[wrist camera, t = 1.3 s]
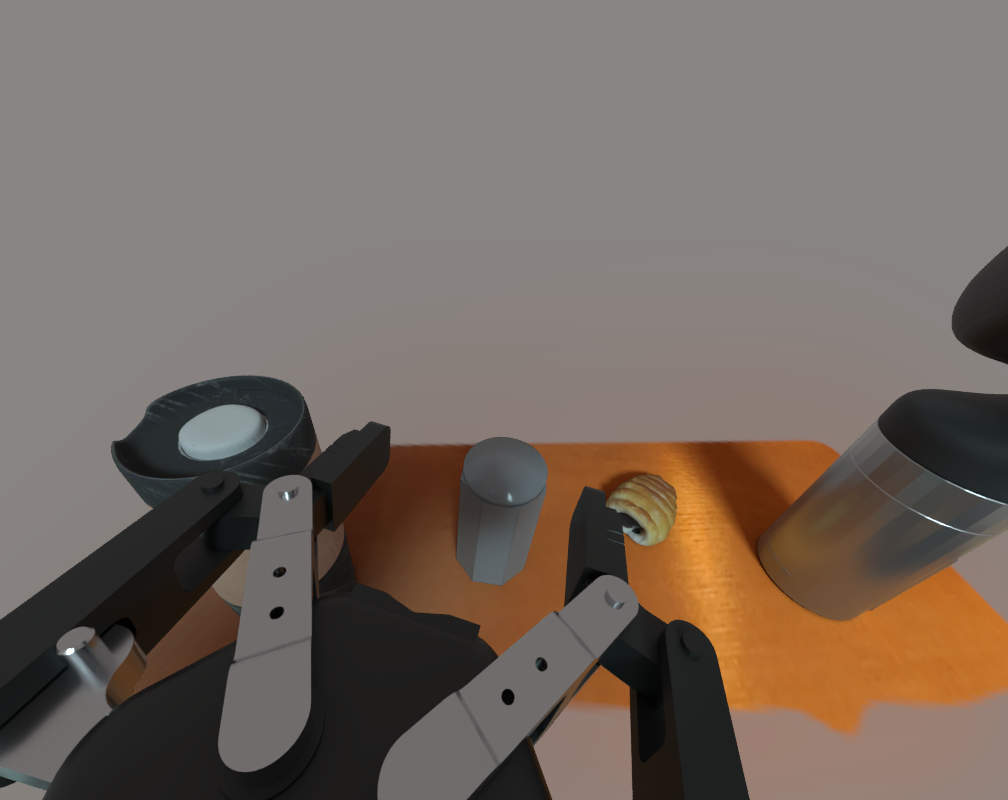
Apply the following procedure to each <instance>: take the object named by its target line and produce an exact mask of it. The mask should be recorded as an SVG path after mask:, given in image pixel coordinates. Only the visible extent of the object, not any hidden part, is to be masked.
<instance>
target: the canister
mask: <svg viewBox="0 0 1008 800" xmlns="http://www.w3.org/2000/svg"><path fill="white" fill-rule="evenodd" d="M547 474H548V472H547V466H546V463H545V460H544V459H543V457H542V456H541V454H540V453H539V452H538V451H537V450H536V449H535V448H533V447H532V446H530V445H529V444H527V443H525V442H523V441H520V440H517V439H513V438H508V437H495V438H490V439H486V440H483V441H481V442H479V443H477V444H476V445H474V446H473V447H472V448H471V449H470V450H469V452H468V453H467V455H466V457H465V460H464V467H463V471H462V475H461V482H460V499H459V517H458V535H457V552H456V558H457V560H458V561H459V563H460V564H461V565H462V567H463V568H464V570H465V571H466V573H467V574H468V575H469V577H470V578H471V580H472V581H476V582H482V583H488V584H494V585H500V586H501V585H503V584H504V583H506V582H507V581H508V580H510V579H511V578H512V577H513V576H515V575H516V574H517V573H519V572H520V571H521V570H522V569H524V565H525V562H526V559H527V555H528V552H529V548H530V545H531V541H532V538H533V535H534V531H535V528H536V524H537V521H538V517H539V514H540V511H541V507H542V504H543V500H544V497H545V493H546V480H547Z"/></svg>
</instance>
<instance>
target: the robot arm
mask: <svg viewBox="0 0 1008 800" xmlns="http://www.w3.org/2000/svg"><path fill="white" fill-rule="evenodd" d="M952 330H953V332H954V335H955V337H956V338H957V339H958V340H959V341H960V342H961V343H962V344H963V345H965V346H966V347H967V348H969V349H971V350H973V351H975V352H977V353H979V354H981V355H983V356H985V357H988V358H991V359H994V360H997V361H1000V362H1003V363H1006V364H1008V247H1006V248H1005V249H1004V250H1003V251H1001V252H1000V253H999V254H998V255H997V256H996V257H995V258H993V260H991V262H989V263H988V264H987V265H986V266H985V267H984V268H983V269H982V270H981V271H980V272H979V273H978V274H977V275H976V276H975V277H974V278H973V279H972V281H971V282H970V283H969V284H968V286H967V287H966V289H965V290H964V291H963V293H962V294H961V296H960V298H959V300H958V302H957V304H956V306H955V307H954V311H953V315H952ZM390 433H391V432H390V427H389V426H385V425H382V424H379V423H376V422H369V423H368V424H367V425H366V426H365V427H364V428H363V429H362V430H360V431H358V430H353V431H350V432H348V433H346V434H343V435H342V436H341V437H340V438H338V439H337V440H336V441H335V442H334V443H333V445H330V446H329V447H328V448H327V449H326V451H324V452H323V453H321V454H320V455H319V456H318V457H317V458H316V459H315V460H314V461H312V462H311V463H310V464H309V465H308V466H307V467H306V468H305V469H303V470H302V471H301V472H300V473H299V474H298V475H288V476H283V477H280V478H278V479H276V480H274V481H272V482H271V483H269V484H268V485H248V484H241V482H240V478H239V476H238V475H237V474H235V473H234V472H231V471H213V472H209V473H206V474H203V475H201V476H199V477H197V478H195V479H194V480H192V481H191V482H189V483H188V484H187V485H185V486H184V487H182V488H181V489H180V490H178V491H177V492H176V493H174V494H173V495H171V496H170V497H169V498H167V499H166V500H165V501H163V502H162V503H160V504H159V505H158V506H156V507H155V508H154V509H152V510H151V511H150V512H148V513H147V514H145V515H144V516H143V517H141V518H140V519H138V520H137V521H136V522H134V523H133V524H132V525H130V526H129V527H127V528H126V529H125V530H123V531H122V532H121V533H119V534H118V535H116V536H115V537H114V538H112V539H111V540H110V541H108V542H107V543H105V544H104V545H103V546H101V547H100V548H99V549H97V550H96V551H95V552H93V553H92V554H90V555H89V556H88V557H86V558H85V559H84V560H82V561H81V562H79V563H78V564H77V565H75V566H74V567H72V568H71V569H70V570H68V571H67V572H66V573H64V574H63V575H61V576H60V577H59V578H57V579H56V580H55V581H53V582H52V583H50V584H49V585H48V586H46V587H45V588H44V589H42V590H41V591H40V592H38V593H37V594H35V595H34V596H33V597H32V598H30V599H28V600H27V601H26V602H24V603H23V604H22V605H20V606H19V607H18V608H16V609H15V610H13V611H12V612H11V613H9V614H8V615H6V616H5V617H4V618H2V619H1V620H0V788H2V787H5V786H8V785H10V784H13V783H15V782H20V783H24V784H27V785H30V786H33V787H36V788H39V789H43V790H46V791H47V792H46V794H45V796H44V797H43V799H42V800H552V798H551V795H550V792H549V789H548V787H547V784H546V781H545V778H544V775H543V773H542V770H541V767H540V764H539V761H538V758H537V756H536V753H535V750H534V747H533V746H534V745H535V744H536V743H537V742H538V740H539V739H540V738H541V737H542V736H543V735H544V733H545V732H546V731H547V730H548V729H549V728H550V726H551V725H552V724H553V723H554V721H555V720H556V719H557V718H558V716H559V715H560V714H561V712H562V711H563V710H564V709H565V707H566V706H567V705H568V704H569V702H570V701H571V700H572V699H573V698H574V697H575V695H576V694H577V693H578V692H579V691H580V690H581V688H582V687H583V686H584V685H585V684H586V683H587V681H588V680H589V679H590V678H591V677H592V676H593V675H594V673H595V672H596V671H597V670H598V669H599V668H600V666H601V665H602V666H603V667H604V668H606V669H607V670H608V671H610V672H611V673H612V674H614V675H615V676H616V677H618V678H619V679H620V680H622V681H623V682H624V683H626V684H627V685H628V686H630V715H631V716H630V718H631V754H632V790H633V800H750V799H749V795H748V790H747V786H746V782H745V777H744V773H743V768H742V764H741V760H740V755H739V751H738V747H737V742H736V738H735V734H734V729H733V725H732V720H731V716H730V712H729V707H728V703H727V699H726V694H725V690H724V685H723V681H722V677H721V672H720V668H719V664H718V659H717V655H716V652H715V649H714V647H713V645H712V644H711V642H710V641H709V639H708V638H707V637H706V635H705V634H704V633H703V632H702V631H701V630H700V629H698V628H697V627H696V626H694V625H692V624H691V623H689V622H686V621H683V620H674V621H671V622H670V623H669V624H666V623H665V622H663V621H662V620H660V619H659V618H657V617H656V616H654V615H653V614H651V613H650V612H648V611H647V610H645V609H644V608H643V607H642V606H641V605H640V604H639V603H638V600H637V597H636V595H635V593H634V591H633V590H632V589H631V587H630V586H629V584H628V575H627V565H626V555H625V546H624V536H623V524H622V520H621V518H620V516H619V515H618V513H617V511H616V509H613V508H610V507H607V506H606V495H605V492H604V491H601V490H597V489H594V488H591V487H587V486H585V487H584V489H583V491H582V494H581V496H580V499H579V501H578V503H577V506H576V508H575V511H574V513H573V516H572V520H571V524H570V531H569V546H568V560H567V574H566V588H565V603H564V608H563V609H562V610H561V611H559V612H558V613H557V612H556V611H553V612H551V613H550V614H548V615H547V616H546V617H545V618H544V619H542V620H541V621H540V622H539V623H538V624H537V625H535V626H534V627H533V628H532V629H531V630H530V631H529V632H527V633H526V634H525V635H524V636H523V637H522V638H520V639H519V640H518V641H517V642H516V643H515V644H513V645H512V646H511V647H510V648H509V649H508V650H507V651H505V652H504V653H503V654H502V655H501V656H500V657H498V656H497V654H496V653H495V651H494V650H493V649H492V648H491V647H490V646H489V645H488V644H487V643H486V642H485V641H484V640H483V639H481V638H480V637H479V636H478V633H479V629H480V625H477V624H475V623H472V622H469V621H466V620H463V619H460V618H457V617H454V616H452V615H446V614H430V613H416V612H413V611H411V610H409V609H408V608H407V607H405V606H404V605H403V604H401V603H400V602H398V601H397V600H396V599H394V598H393V597H391V596H390V595H389V594H387V593H385V592H382V591H379V590H377V589H374V588H371V587H368V586H365V585H362V584H359V583H356V585H355V586H354V588H353V589H352V591H351V592H344V593H335V594H329V595H326V596H322V597H319V578H318V539H317V536H318V535H319V533H320V532H321V531H322V530H323V529H327V530H330V531H333V532H335V531H336V530H337V528H338V527H339V526H340V525H341V523H342V522H343V521H344V520H345V518H346V517H347V516H348V515H349V513H350V512H351V511H352V510H353V508H354V507H355V506H356V505H357V503H358V502H359V501H360V500H361V499H362V497H363V496H364V495H365V494H366V492H367V491H368V490H369V489H370V487H371V486H372V485H373V484H374V482H375V481H376V480H377V479H378V477H379V476H380V475H381V474H382V473H383V471H384V470H385V468H386V466H387V464H388V461H389V456H390ZM1007 529H1008V394H981V393H971V392H961V391H950V390H940V389H922V390H916V391H912V392H909V393H907V394H905V395H903V396H901V397H900V398H898V399H897V400H896V401H895V402H894V403H893V404H892V405H891V406H890V407H889V408H888V409H887V410H886V411H885V412H884V413H883V414H882V415H881V416H880V417H879V418H878V419H877V420H876V421H875V422H874V423H873V424H872V425H871V426H870V427H869V428H868V429H867V430H866V431H865V432H864V433H863V434H862V435H861V436H860V437H859V438H858V439H857V440H856V441H855V442H854V443H853V444H852V445H851V446H850V447H849V448H848V449H847V450H846V451H845V452H844V453H843V454H842V455H841V456H840V457H839V458H838V459H837V460H836V461H835V462H834V463H833V464H832V465H831V466H830V467H829V468H828V469H827V470H826V471H825V472H824V473H823V474H822V475H821V476H820V477H819V478H818V479H817V480H816V481H815V482H814V483H813V484H812V485H811V486H810V487H809V488H808V489H807V490H806V491H805V492H804V493H803V494H802V495H801V496H800V497H799V498H798V499H797V500H796V501H795V502H794V503H793V504H792V505H791V506H790V507H789V508H788V509H787V510H786V511H785V512H784V513H783V514H782V515H781V516H780V517H779V518H778V519H777V520H776V521H775V522H774V523H773V524H772V525H771V526H770V527H769V528H768V529H767V530H766V531H765V532H764V533H763V534H762V535H761V536H760V538H759V540H758V544H757V550H758V556H759V558H760V561H761V563H762V565H763V567H764V569H765V570H766V572H767V573H768V575H769V576H770V577H771V579H772V580H773V581H774V582H775V584H776V585H777V586H778V587H779V588H780V589H781V590H782V591H783V592H784V593H785V594H787V595H788V596H789V597H790V598H792V599H793V600H794V601H795V602H797V603H798V604H800V605H801V606H803V607H804V608H806V609H808V610H810V611H812V612H814V613H816V614H818V615H820V616H823V617H826V618H829V619H833V620H840V621H843V620H851V619H853V618H855V617H857V616H858V615H860V614H862V613H864V612H865V611H867V610H873V609H875V608H877V607H878V606H880V605H882V604H884V603H885V602H887V601H889V600H891V599H892V598H894V597H896V596H898V595H899V594H901V593H903V592H905V591H906V590H908V589H910V588H912V587H913V586H915V585H917V584H919V583H920V582H922V581H924V580H926V579H927V578H929V577H931V576H933V575H934V574H936V573H938V572H940V571H941V570H943V569H945V568H946V567H948V566H950V565H952V564H953V563H955V562H957V560H958V558H960V557H961V556H963V555H965V554H967V553H968V552H970V551H971V550H973V549H975V548H977V547H979V546H980V545H982V544H984V543H986V542H987V541H989V540H991V539H993V538H994V537H996V536H997V535H999V534H1001V533H1002V532H1004V531H1006V530H1007ZM245 550H250V555H249V562H248V568H247V575H246V582H245V589H244V596H243V603H242V610H241V616H240V623H239V630H238V637H237V640H236V641H234V642H232V643H230V644H228V645H226V646H225V647H223V648H221V649H219V650H217V651H215V652H213V653H211V654H209V655H208V656H206V657H204V658H202V659H200V660H198V661H196V662H194V663H192V664H191V665H189V666H187V667H185V668H183V669H181V670H179V671H177V672H175V673H174V674H172V675H170V676H168V677H166V678H164V679H162V680H160V681H158V682H157V683H155V684H153V685H151V686H149V687H147V688H145V689H143V690H142V691H140V692H138V693H136V694H135V695H133V696H131V695H132V693H133V691H134V688H135V686H136V685H137V683H138V682H139V681H140V679H141V677H142V676H143V674H144V672H145V669H146V665H147V658H146V655H147V654H148V653H149V652H150V651H151V650H152V649H153V648H154V647H155V646H156V645H157V643H158V642H159V641H160V640H161V639H162V638H163V637H164V636H165V635H166V634H167V633H168V632H169V631H170V630H171V629H172V628H173V626H174V625H175V624H176V623H177V622H178V621H179V620H180V619H181V618H182V617H183V616H184V615H185V614H186V613H187V612H188V611H189V609H190V608H191V607H192V606H193V605H194V604H195V603H196V602H197V601H198V600H199V599H200V598H201V597H202V596H203V595H204V593H205V592H206V591H207V590H208V589H209V588H210V587H211V586H212V585H213V584H214V583H215V582H216V581H217V580H218V579H219V578H220V576H221V575H222V574H223V573H224V572H225V571H226V570H227V569H228V568H229V567H230V566H231V565H232V564H233V563H234V562H235V561H236V559H237V558H238V557H239V556H240V555H241V554H242V553H243V552H244V551H245ZM130 696H131V697H130Z"/></svg>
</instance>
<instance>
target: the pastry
mask: <svg viewBox="0 0 1008 800" xmlns="http://www.w3.org/2000/svg"><path fill="white" fill-rule="evenodd" d="M676 499H677V496H676V491H675V489H674V488H673V487H672V486H671V485H670V484H668V483H667V482H666V481H664V480H663V478H662V477H661V476H659V475H653V474H648V475H642V474H641V475H638V476H637V477H633V478H631V479H630V480H629V481H625V482H623V483H622V484H620V485H619V487H618V488H617V489H615V490H613V492H612V493H611V495H610V497H609V499H608V500H607V501H606V506H607V507H610V508H613V509H616V511H617V513H618V515H619V516H620V518H621V520H622V524H623V532H624V533H626V534H628V535H629V537H630V538H631V539H633V540H634V541H635V542H636V543H638V544H640V545H644V546H651V545H655V544H657V543H659V542H661V541H663V540H665V539H666V538H667V536H668V533H669V531H670V530H671V527H672V526H673V524H674V523H675V517H676V509H677V506H676Z"/></svg>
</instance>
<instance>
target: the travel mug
mask: <svg viewBox="0 0 1008 800" xmlns="http://www.w3.org/2000/svg"><path fill="white" fill-rule="evenodd" d="M111 453H112V457H113V460H114V462H115V464H116V466H117V467H118V469H119V471H120V472H121V473H122V474H123V476H124V477H125V478H126V479H127V481H128V482H129V483H130V484H131V486H132V487H133V488H134V489H135V491H136V492H137V493H138V494H139V496H140V497H141V498H142V499H143V500H144V502H145V503H146V504H147V506H148V507H149V508H150V509H151V510H152V509H154V508H155V507H156V506H158V505H159V504H160V503H162V502H163V501H165V500H166V499H167V498H169V497H170V496H171V495H173V494H174V493H176V492H177V491H178V490H180V489H181V488H182V487H184V486H185V485H187V484H188V483H189V482H191V481H192V480H194V479H195V478H197V477H199V476H201V475H203V474H206V473H209V472H213V471H231V472H234V473H235V474H237V475H238V476H239V478H240V482H241V484H248V485H268V484H269V483H271V482H272V481H274V480H276V479H278V478H280V477H283V476H288V475H298V474H299V473H300V472H301V471H302V470H303V469H305V468H306V467H307V466H308V465H309V464H310V463H311V462H312V461H314V460H315V459H316V458H317V457H318V456H319V455H320V454H321V449H320V446H319V443H318V440H317V436H316V433H315V430H314V427H313V423H312V420H311V417H310V413H309V410H308V407H307V405H306V402H305V400H304V397H303V396H302V395H301V393H300V392H299V391H298V390H297V389H296V388H295V387H293V386H292V385H290V384H289V383H286V382H284V381H282V380H278V379H275V378H270V377H263V376H250V375H249V376H231V377H223V378H217V379H212V380H207V381H203V382H199V383H195V384H192V385H189V386H186V387H183V388H180V389H178V390H175V391H173V392H171V393H168V394H166V395H164V396H162V397H160V398H158V399H156V400H155V401H153V402H152V403H151V404H150V405H149V406H148V407H147V409H146V413H145V416H144V418H143V419H142V421H141V422H140V423H139V424H138V426H137V427H136V428H135V429H134V430H133V431H132V432H131V433H130V434H129V435H128V436H127V437H126V438H124V439H123V440H120V441H113V442H112V446H111ZM317 539H318V578H319V597H322V596H326V595H329V594H335V593H344V592H351V591H352V589H353V588H354V586H355V585H356V579H355V574H354V569H353V564H352V560H351V556H350V551H349V547H348V542H347V538H346V533H345V529H344V525H343V522H342V523H341V525H340V526H339V527H338V528H337V530H336V531H335V532H333V531H330V530H327V529H323V530H322V531H321V532H320V533H319V535H318V536H317ZM249 555H250V550H245V551H244V552H243V553H242V554H241V555H240V556H239V557H238V558H237V559H236V561H235V562H234V563H233V564H232V565H231V566H230V567H229V568H228V569H227V570H226V571H225V572H224V573H223V574H222V575H221V576H220V578H219V579H218V580H217V581H216V582H215V583H214V584H213V585H212V587H213V588H214V589H215V591H216V592H217V593H218V594H219V595H220V596H221V597H222V599H223V600H224V601H225V602H226V603H227V604H228V605H229V606H230V607H231V608H232V609H233V610H234V611H235V612H236V613H237V614H238V615H239V616H241V610H242V603H243V596H244V589H245V582H246V575H247V568H248V562H249Z"/></svg>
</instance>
